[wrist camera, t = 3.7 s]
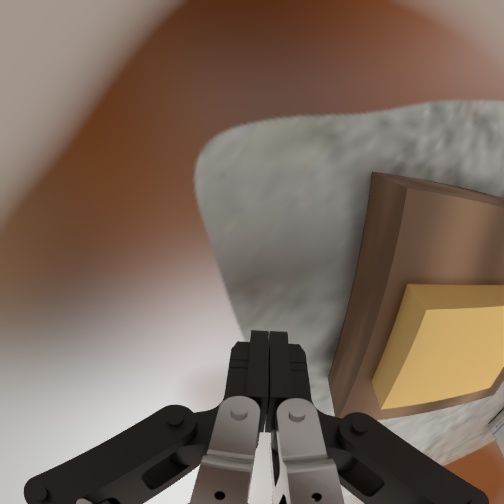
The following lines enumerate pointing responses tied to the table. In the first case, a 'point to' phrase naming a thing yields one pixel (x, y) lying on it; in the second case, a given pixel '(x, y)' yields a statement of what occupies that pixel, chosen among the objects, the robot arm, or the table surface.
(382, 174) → the brown wooden block
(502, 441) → the ink box
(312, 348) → the table surface
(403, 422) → the table surface
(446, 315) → the tile
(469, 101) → the table surface
